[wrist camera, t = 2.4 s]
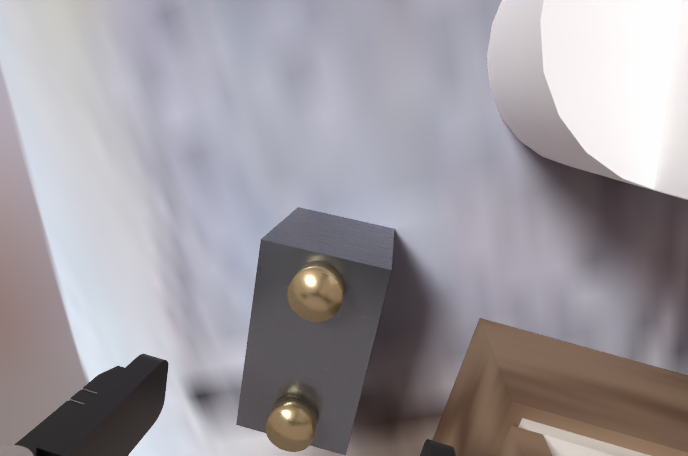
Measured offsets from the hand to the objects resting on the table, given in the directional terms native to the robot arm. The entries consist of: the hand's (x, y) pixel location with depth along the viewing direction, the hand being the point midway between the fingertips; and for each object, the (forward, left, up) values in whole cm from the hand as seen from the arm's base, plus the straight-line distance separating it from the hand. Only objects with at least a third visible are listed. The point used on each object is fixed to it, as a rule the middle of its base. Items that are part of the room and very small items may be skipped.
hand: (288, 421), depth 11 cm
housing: (0, 0, -8) cm, 8 cm away
